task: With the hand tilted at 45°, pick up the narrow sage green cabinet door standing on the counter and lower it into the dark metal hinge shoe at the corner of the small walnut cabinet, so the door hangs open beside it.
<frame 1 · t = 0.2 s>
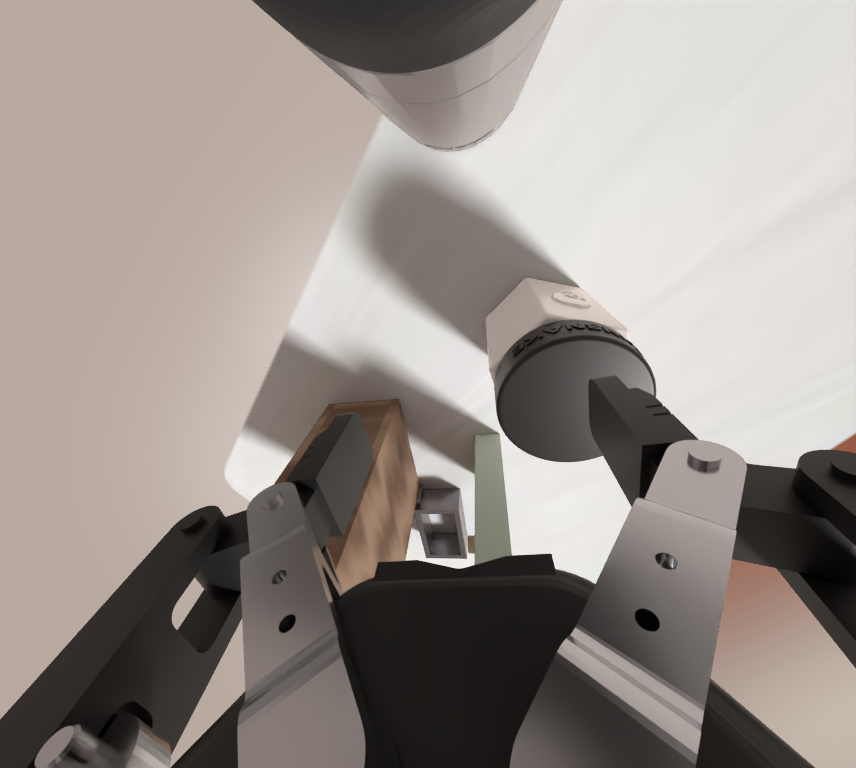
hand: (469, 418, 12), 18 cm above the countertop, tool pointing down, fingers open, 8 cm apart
door: (489, 456, 36), on the countertop
cabinet: (376, 447, 37), on the countertop
jar: (536, 327, 28), on the countertop
hinge shoe: (443, 513, 41), on the countertop
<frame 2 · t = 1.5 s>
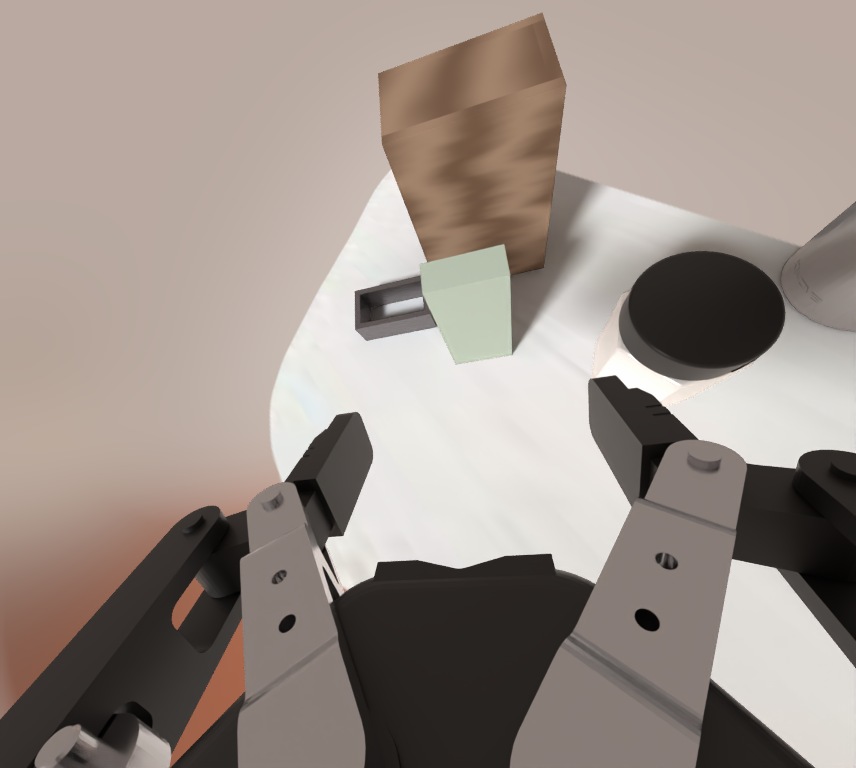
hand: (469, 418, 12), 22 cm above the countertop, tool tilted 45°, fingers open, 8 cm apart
door: (481, 349, 36), on the countertop
cabinet: (484, 252, 39), on the countertop
jar: (636, 371, 32), on the countertop
hinge shoe: (399, 315, 40), on the countertop
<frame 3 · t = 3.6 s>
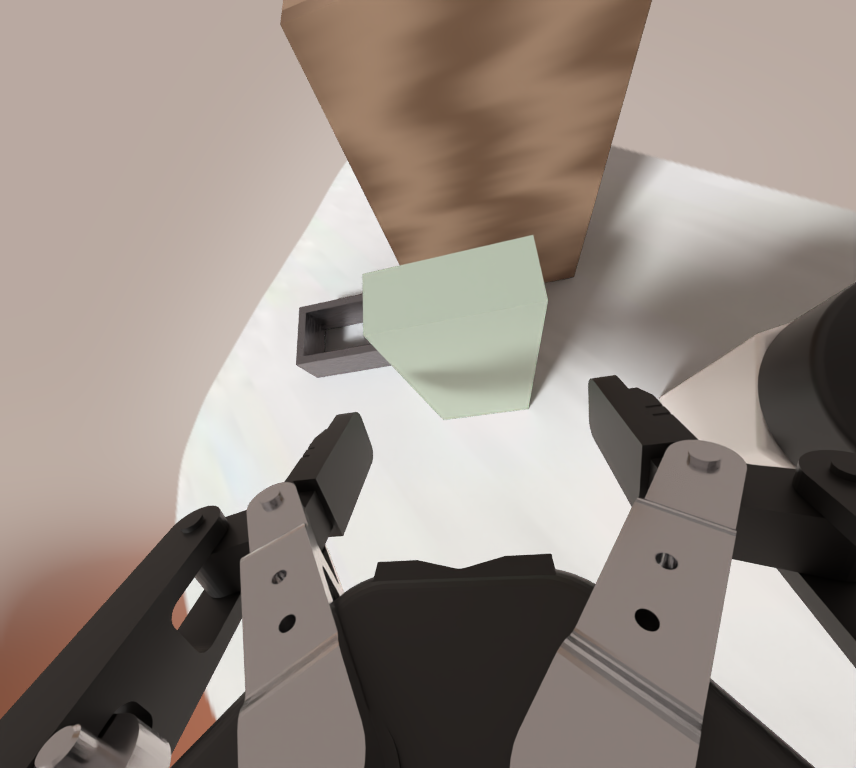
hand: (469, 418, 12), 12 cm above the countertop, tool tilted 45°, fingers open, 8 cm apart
door: (482, 397, 24), on the countertop
cabinet: (487, 254, 28), on the countertop
jar: (729, 446, 20), on the countertop
hinge shoe: (365, 342, 28), on the countertop
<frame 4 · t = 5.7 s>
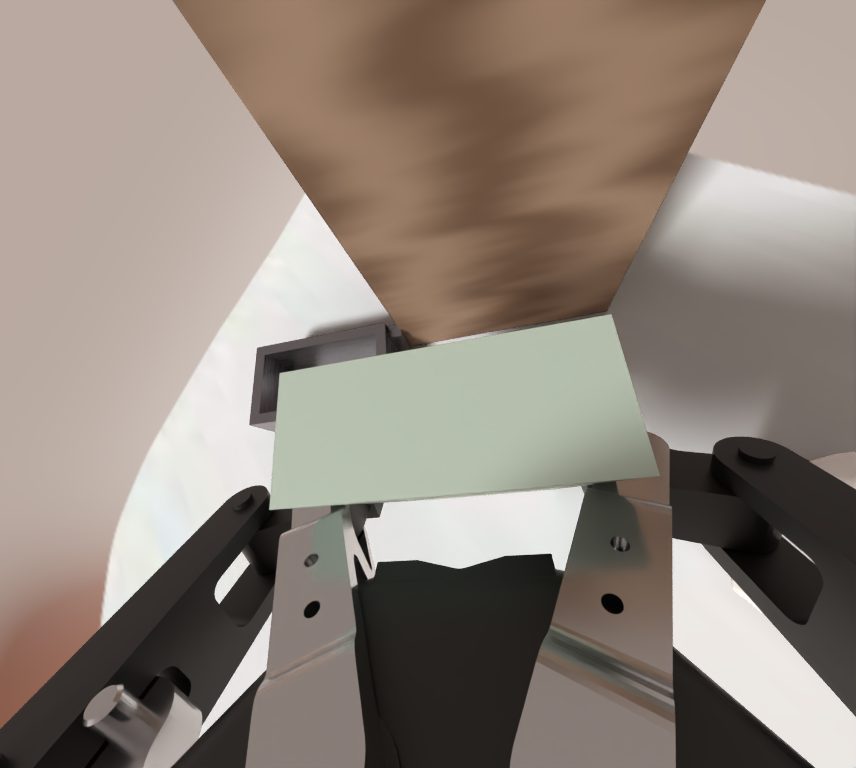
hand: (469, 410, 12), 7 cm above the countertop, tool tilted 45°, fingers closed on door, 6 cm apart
door: (489, 470, 18), on the countertop, touching gripper
cabinet: (494, 278, 22), on the countertop
jar: (836, 559, 14), on the countertop
hinge shoe: (341, 388, 22), on the countertop
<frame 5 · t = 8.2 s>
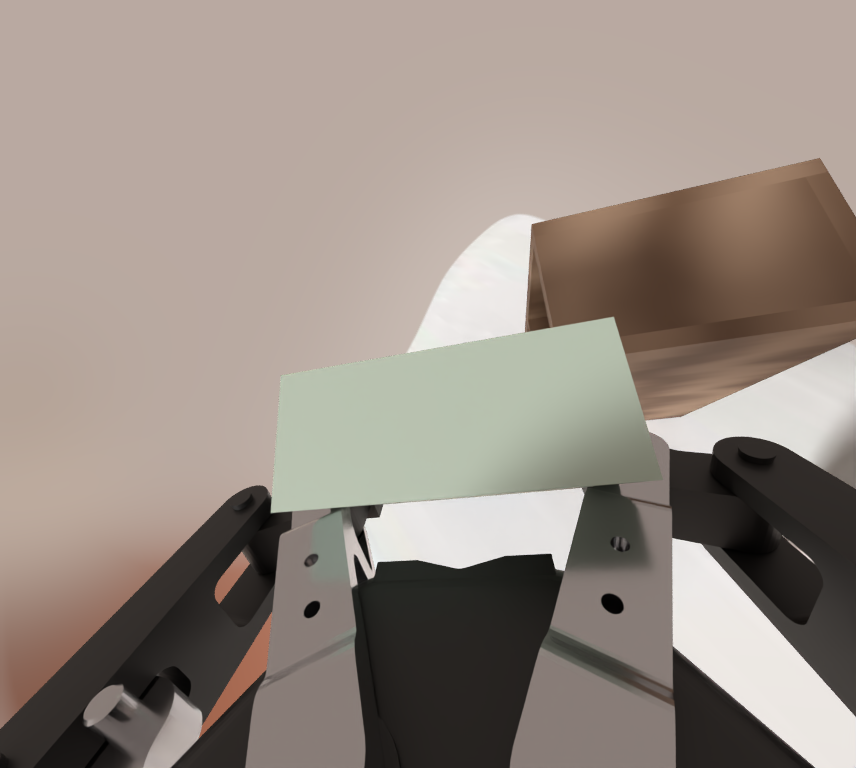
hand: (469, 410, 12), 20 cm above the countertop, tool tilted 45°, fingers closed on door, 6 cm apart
door: (490, 471, 18), point 13 cm above the countertop, touching gripper
cabinet: (595, 384, 31), on the countertop
when the fingers open (9 cm above the countertop, at t = 11.1 s): door drops 1 cm, resting in hinge shoe.
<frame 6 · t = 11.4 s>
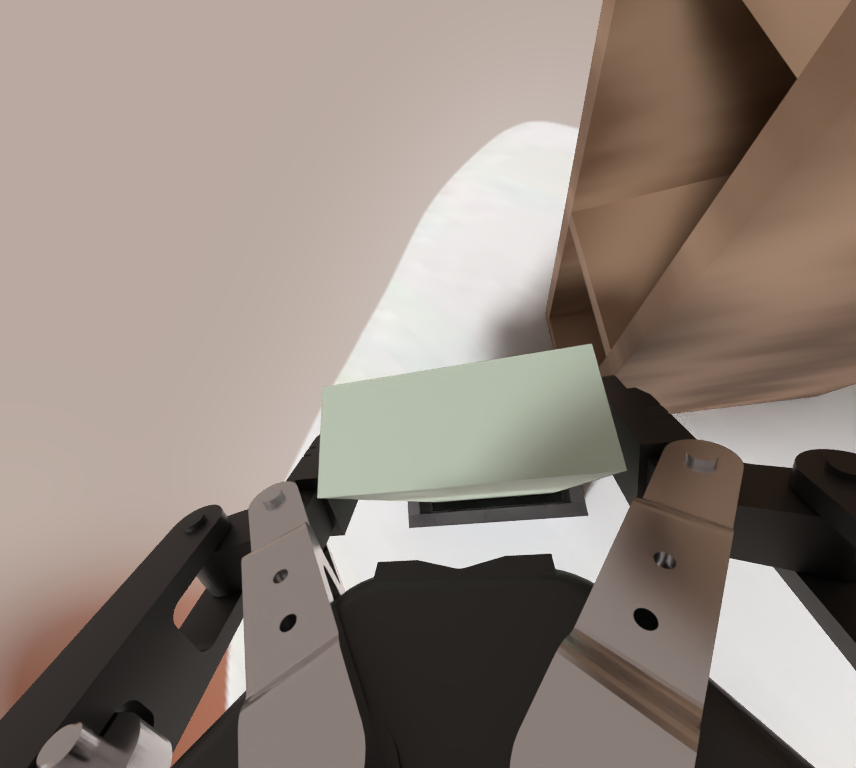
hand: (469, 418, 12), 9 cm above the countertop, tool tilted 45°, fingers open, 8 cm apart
door: (492, 476, 20), resting in hinge shoe
cabinet: (664, 349, 20), on the countertop
hinge shoe: (490, 472, 20), on the countertop
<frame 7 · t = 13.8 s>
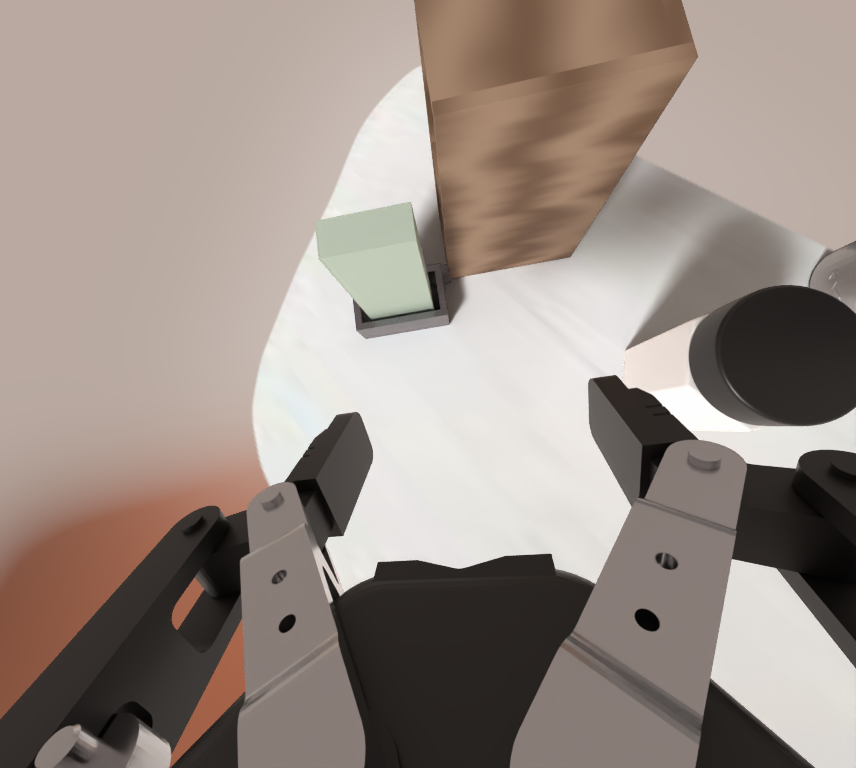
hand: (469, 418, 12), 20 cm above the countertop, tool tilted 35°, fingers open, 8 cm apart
door: (404, 310, 34), resting in hinge shoe
cabinet: (502, 233, 34), on the countertop
jar: (665, 381, 31), on the countertop
hinge shoe: (403, 308, 34), on the countertop
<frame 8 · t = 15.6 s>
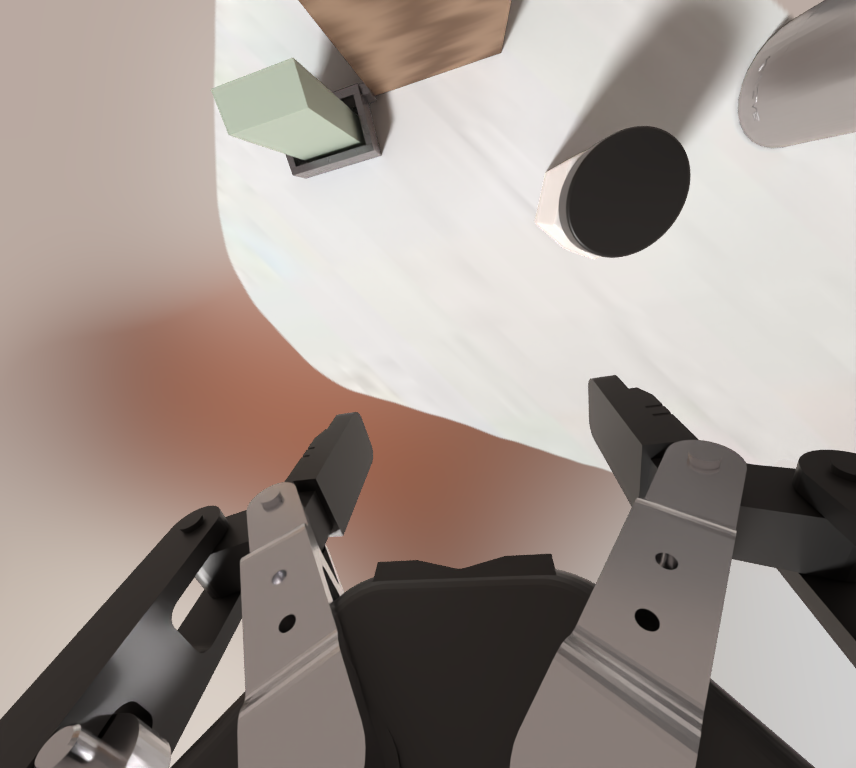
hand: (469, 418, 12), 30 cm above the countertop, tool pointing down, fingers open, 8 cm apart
door: (336, 141, 34), resting in hinge shoe
cabinet: (426, 20, 29), on the countertop
jar: (576, 202, 34), on the countertop
hinge shoe: (334, 138, 34), on the countertop
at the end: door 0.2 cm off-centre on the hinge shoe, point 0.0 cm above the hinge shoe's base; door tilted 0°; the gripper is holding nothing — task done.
